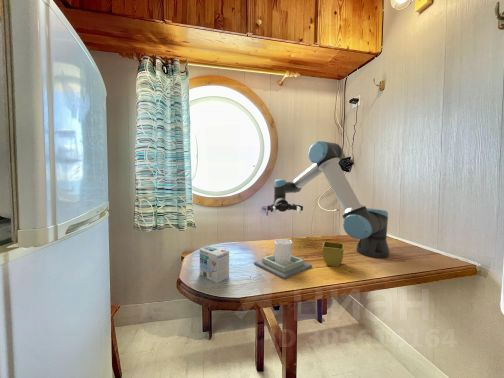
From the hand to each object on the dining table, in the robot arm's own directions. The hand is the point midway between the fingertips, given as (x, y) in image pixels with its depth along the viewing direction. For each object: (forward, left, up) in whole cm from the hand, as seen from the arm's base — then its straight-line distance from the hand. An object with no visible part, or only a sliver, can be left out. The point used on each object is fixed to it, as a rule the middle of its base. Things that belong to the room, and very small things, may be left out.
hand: (287, 210), depth 121 cm
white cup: (-14, +18, -20) cm, 30 cm away
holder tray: (-14, +18, -21) cm, 31 cm away
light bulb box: (-4, +47, -21) cm, 52 cm away
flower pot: (-27, -1, -21) cm, 34 cm away
